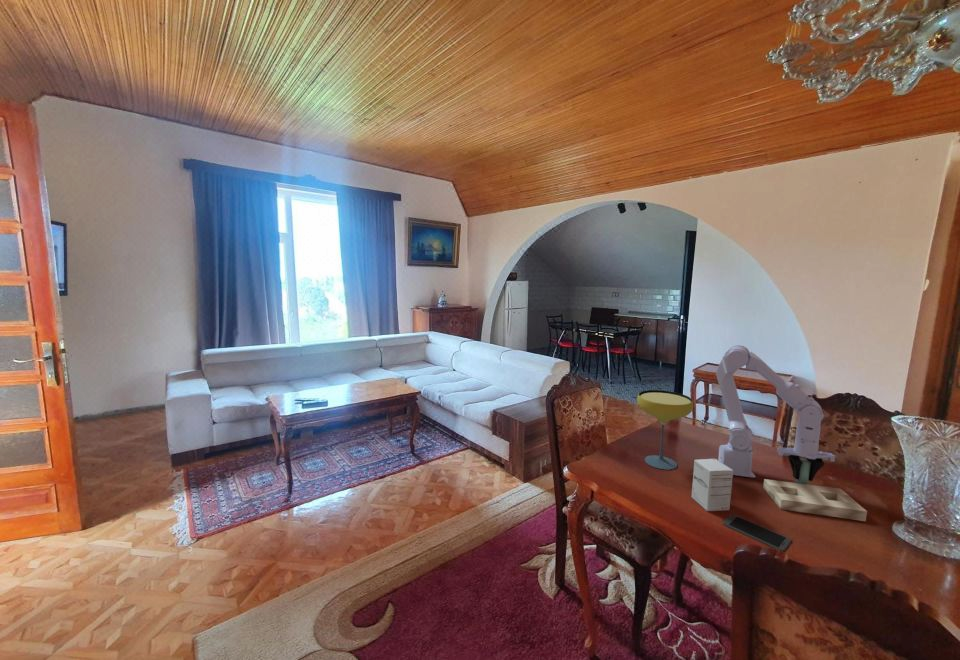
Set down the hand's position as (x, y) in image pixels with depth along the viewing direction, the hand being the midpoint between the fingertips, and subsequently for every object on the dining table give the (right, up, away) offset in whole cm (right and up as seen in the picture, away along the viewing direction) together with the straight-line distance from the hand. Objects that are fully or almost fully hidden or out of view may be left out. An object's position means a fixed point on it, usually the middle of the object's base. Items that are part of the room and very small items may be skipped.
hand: (802, 478), depth 122 cm
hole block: (-5, -4, -9) cm, 11 cm away
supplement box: (-35, -4, -9) cm, 36 cm away
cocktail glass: (-38, -1, +17) cm, 41 cm away
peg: (0, -3, 0) cm, 3 cm away
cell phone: (-31, -6, -21) cm, 38 cm away
